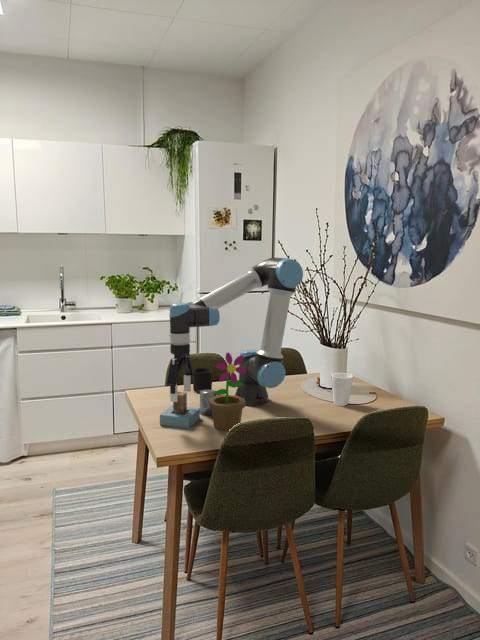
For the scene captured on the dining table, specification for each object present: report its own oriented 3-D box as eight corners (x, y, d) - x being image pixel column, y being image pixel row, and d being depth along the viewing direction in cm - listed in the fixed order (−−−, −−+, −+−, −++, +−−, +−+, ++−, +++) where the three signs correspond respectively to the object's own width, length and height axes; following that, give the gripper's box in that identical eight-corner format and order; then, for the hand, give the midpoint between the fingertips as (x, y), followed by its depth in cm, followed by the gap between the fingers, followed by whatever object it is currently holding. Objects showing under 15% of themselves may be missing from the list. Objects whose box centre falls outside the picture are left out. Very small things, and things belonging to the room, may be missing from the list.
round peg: (217, 410, 214) (218, 390, 213) (213, 415, 208) (214, 394, 207) (202, 409, 216) (202, 389, 215) (197, 414, 209) (197, 393, 208)
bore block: (199, 418, 205) (199, 408, 205) (188, 428, 194) (188, 418, 193) (172, 414, 209) (172, 405, 208) (159, 424, 197) (159, 414, 197)
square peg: (186, 419, 203) (186, 392, 201) (182, 422, 199) (182, 395, 197) (177, 418, 204) (177, 391, 202) (173, 421, 200) (173, 394, 198)
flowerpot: (216, 434, 188) (216, 355, 183) (203, 422, 201) (203, 347, 196) (251, 429, 194) (252, 352, 189) (236, 417, 207) (237, 345, 202)
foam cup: (353, 402, 229) (355, 374, 227) (349, 408, 220) (350, 379, 218) (333, 399, 233) (334, 371, 231) (327, 405, 224) (328, 376, 222)
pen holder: (188, 390, 243) (188, 369, 242) (204, 386, 250) (204, 367, 248) (200, 394, 236) (200, 374, 235) (216, 391, 242) (216, 370, 241)
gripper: (183, 336, 209) (184, 386, 213) (157, 349, 186) (158, 405, 189) (200, 337, 207) (200, 388, 211) (176, 350, 184) (177, 406, 187)
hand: (180, 396), depth 200 cm, fingers open, 13 cm apart
